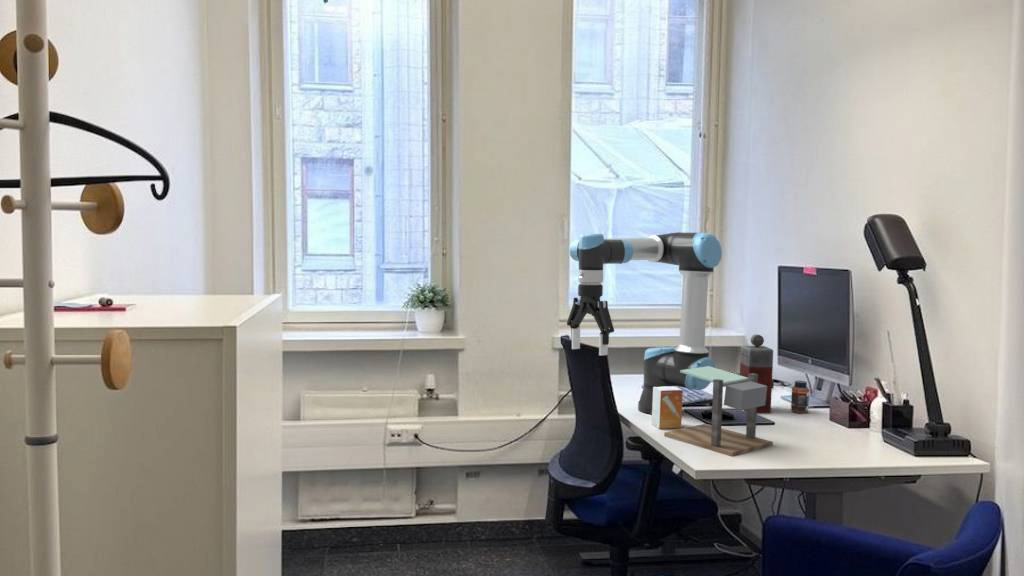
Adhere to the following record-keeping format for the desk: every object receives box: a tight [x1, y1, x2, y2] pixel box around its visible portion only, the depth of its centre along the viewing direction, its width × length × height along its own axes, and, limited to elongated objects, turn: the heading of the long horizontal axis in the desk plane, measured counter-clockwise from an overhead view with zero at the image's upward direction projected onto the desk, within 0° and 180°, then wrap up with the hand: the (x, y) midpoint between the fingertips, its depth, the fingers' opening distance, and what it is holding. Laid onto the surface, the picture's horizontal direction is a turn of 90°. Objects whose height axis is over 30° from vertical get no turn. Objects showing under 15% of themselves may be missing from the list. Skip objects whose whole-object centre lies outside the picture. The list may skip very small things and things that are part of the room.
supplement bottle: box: [790, 380, 810, 414], centre depth 279 cm, size 6×6×11 cm
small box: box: [651, 386, 684, 430], centre depth 255 cm, size 8×6×13 cm
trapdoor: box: [680, 366, 767, 411], centre depth 236 cm, size 14×23×7 cm, turn 37°
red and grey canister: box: [739, 333, 774, 414], centre depth 281 cm, size 9×11×28 cm
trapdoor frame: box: [663, 373, 774, 457], centre depth 238 cm, size 20×26×21 cm
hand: (589, 352), depth 237 cm, fingers open, 13 cm apart
